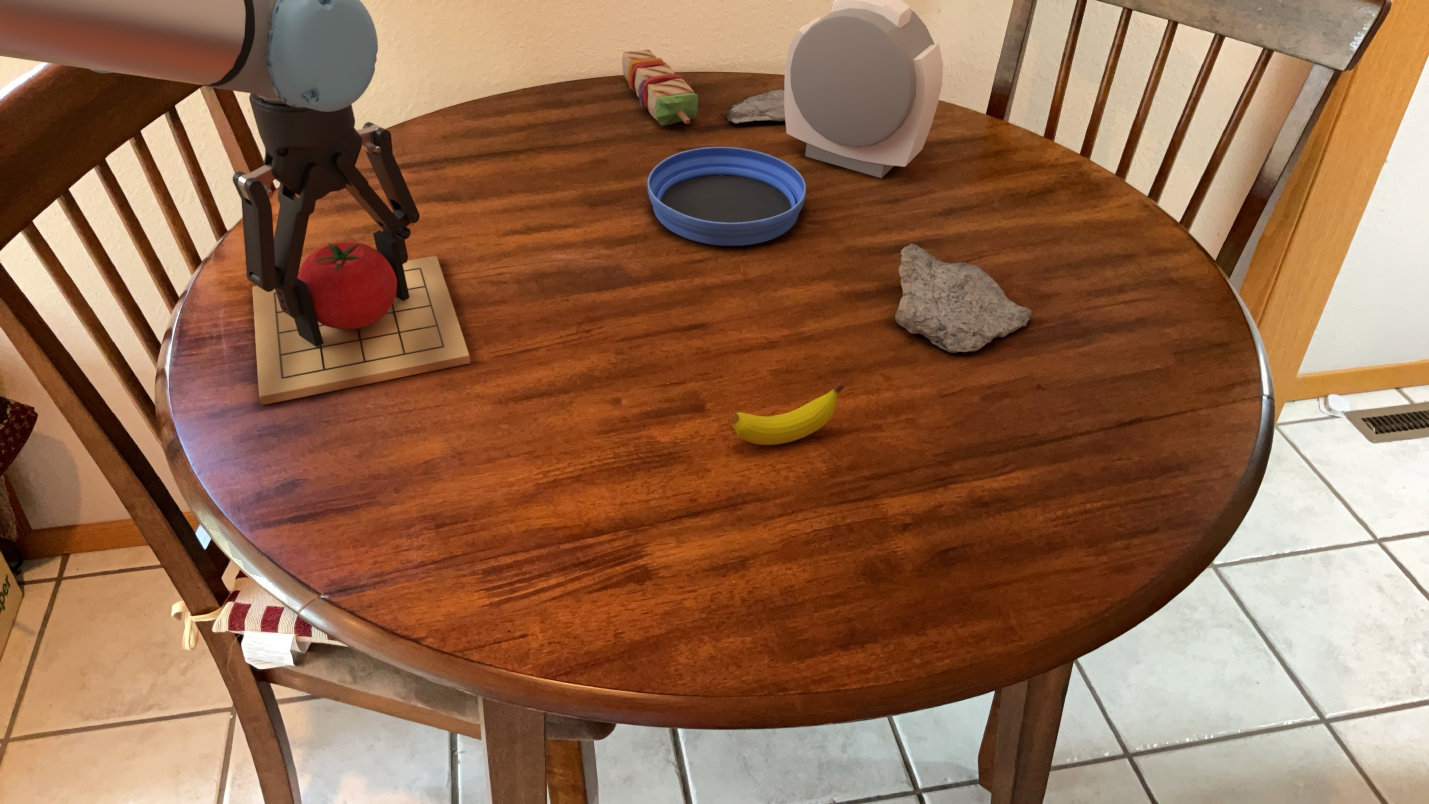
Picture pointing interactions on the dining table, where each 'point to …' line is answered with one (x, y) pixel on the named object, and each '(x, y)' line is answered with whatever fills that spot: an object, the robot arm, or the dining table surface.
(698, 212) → the bowl
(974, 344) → the rock
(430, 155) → the dining table surface
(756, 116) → the stone
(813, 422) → the fruit
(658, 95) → the skewer
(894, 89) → the alarm clock
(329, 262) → the tomato
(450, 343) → the board
